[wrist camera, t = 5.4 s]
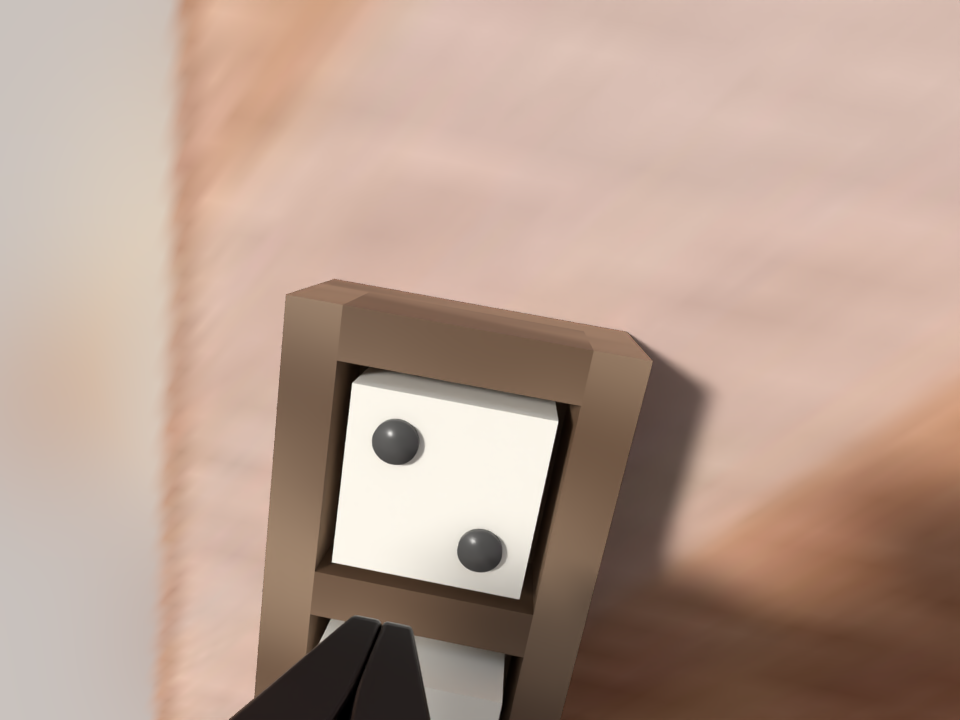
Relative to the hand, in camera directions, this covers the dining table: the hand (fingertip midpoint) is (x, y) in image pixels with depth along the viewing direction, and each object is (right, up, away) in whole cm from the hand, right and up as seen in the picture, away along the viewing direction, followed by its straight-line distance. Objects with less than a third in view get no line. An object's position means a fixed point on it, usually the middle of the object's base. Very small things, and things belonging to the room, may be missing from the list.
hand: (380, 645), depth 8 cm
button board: (0, -4, +9) cm, 10 cm away
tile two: (+1, +2, +6) cm, 7 cm away
